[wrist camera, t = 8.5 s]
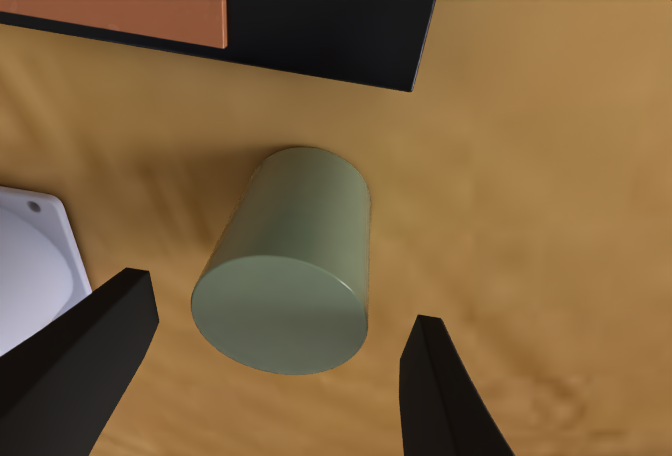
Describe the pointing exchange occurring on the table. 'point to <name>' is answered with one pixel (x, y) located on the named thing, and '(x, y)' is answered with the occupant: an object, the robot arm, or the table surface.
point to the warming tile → (137, 17)
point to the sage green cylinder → (291, 267)
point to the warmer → (298, 38)
